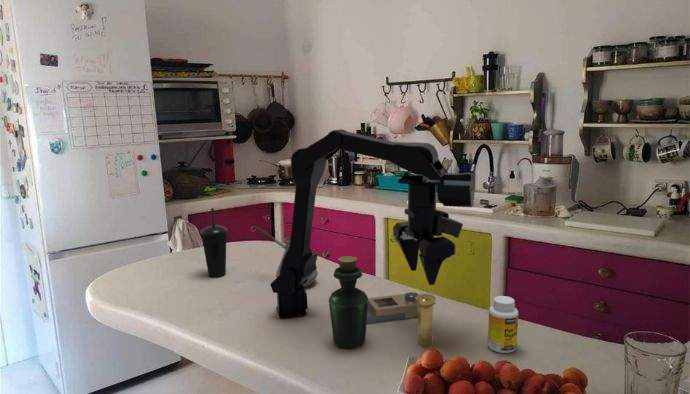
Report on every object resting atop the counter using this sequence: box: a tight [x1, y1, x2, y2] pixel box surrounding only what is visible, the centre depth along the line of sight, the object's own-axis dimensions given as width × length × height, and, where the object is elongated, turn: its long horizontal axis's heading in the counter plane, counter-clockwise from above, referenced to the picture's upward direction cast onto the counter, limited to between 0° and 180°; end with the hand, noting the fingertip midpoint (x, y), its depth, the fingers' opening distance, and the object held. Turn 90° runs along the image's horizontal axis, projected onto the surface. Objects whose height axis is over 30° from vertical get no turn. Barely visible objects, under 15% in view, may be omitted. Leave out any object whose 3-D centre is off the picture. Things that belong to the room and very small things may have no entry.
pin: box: [415, 293, 436, 348], centre depth 102 cm, size 4×4×10 cm
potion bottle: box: [328, 255, 369, 350], centre depth 103 cm, size 8×8×18 cm
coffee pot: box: [249, 224, 319, 289], centre depth 140 cm, size 21×12×15 cm, turn 57°
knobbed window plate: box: [366, 291, 419, 325], centre depth 117 cm, size 18×7×4 cm, turn 104°
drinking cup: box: [199, 207, 229, 279], centre depth 145 cm, size 8×8×20 cm
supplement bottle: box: [487, 295, 519, 354], centre depth 100 cm, size 6×6×10 cm
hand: (422, 277), depth 106 cm, fingers open, 9 cm apart
